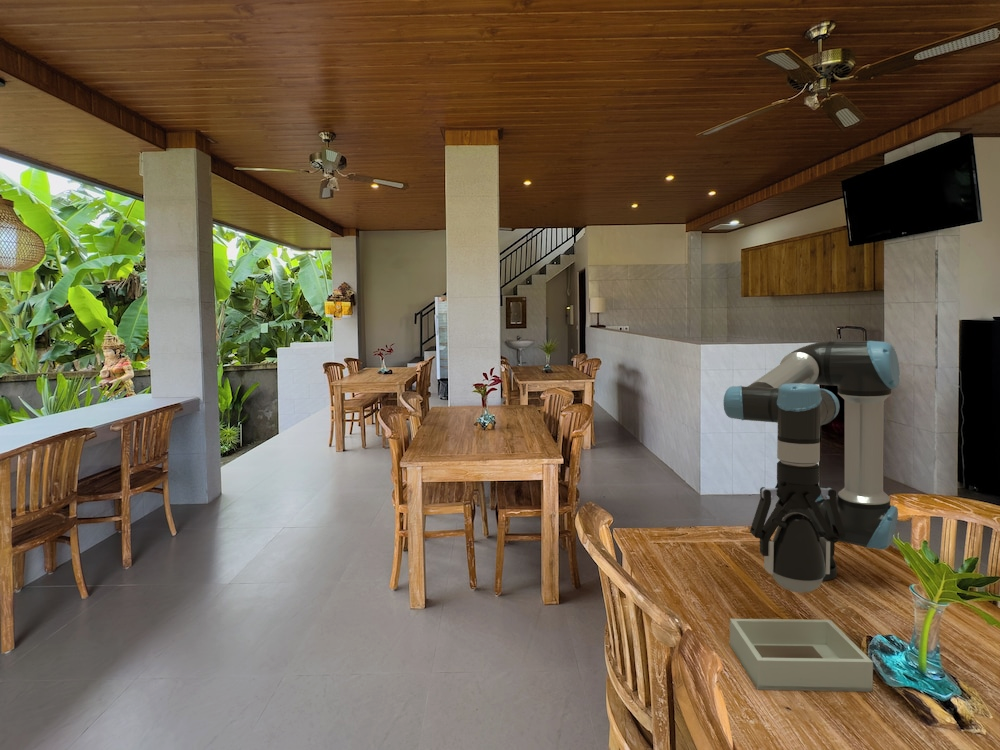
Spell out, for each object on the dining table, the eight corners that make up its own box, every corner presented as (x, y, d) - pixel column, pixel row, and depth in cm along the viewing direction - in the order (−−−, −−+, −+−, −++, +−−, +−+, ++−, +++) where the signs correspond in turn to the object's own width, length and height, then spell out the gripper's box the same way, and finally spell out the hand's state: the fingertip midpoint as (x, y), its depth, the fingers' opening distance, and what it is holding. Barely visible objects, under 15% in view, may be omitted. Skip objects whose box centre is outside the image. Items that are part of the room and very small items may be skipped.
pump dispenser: (757, 578, 121) (758, 506, 120) (805, 575, 121) (806, 504, 120) (785, 600, 111) (786, 522, 109) (837, 597, 111) (838, 519, 110)
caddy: (829, 645, 124) (830, 619, 124) (872, 691, 108) (873, 662, 108) (729, 644, 126) (729, 618, 125) (757, 689, 110) (757, 660, 109)
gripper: (847, 457, 117) (845, 564, 119) (732, 458, 119) (732, 563, 120) (868, 465, 110) (865, 579, 111) (745, 466, 111) (745, 578, 113)
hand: (796, 571), depth 116 cm, fingers closed on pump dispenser, 10 cm apart
